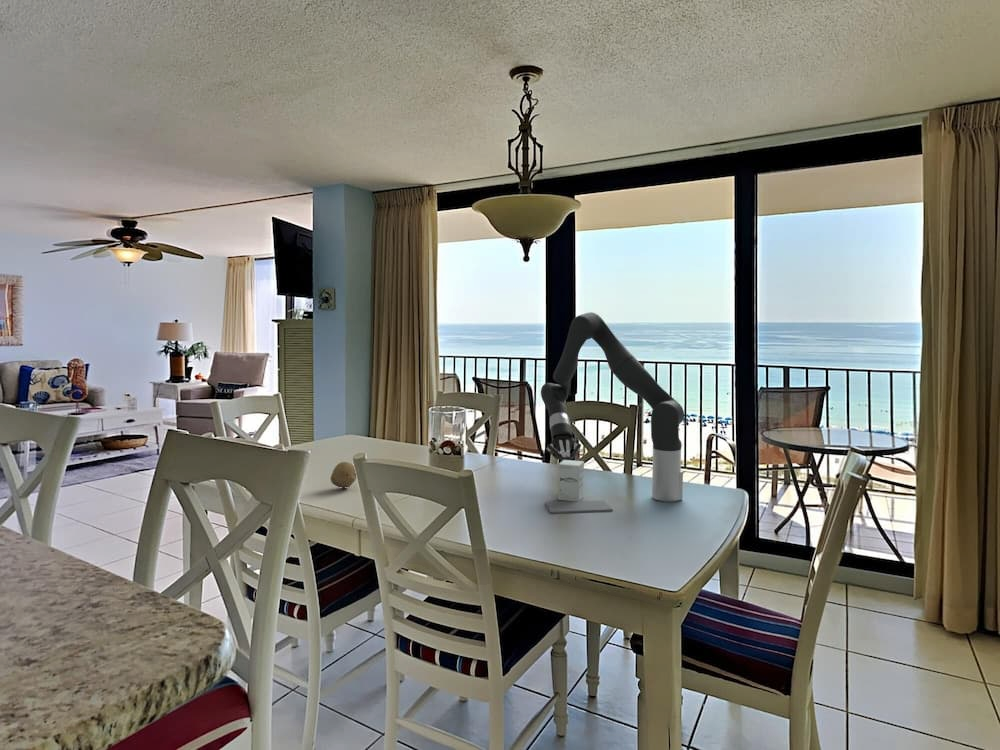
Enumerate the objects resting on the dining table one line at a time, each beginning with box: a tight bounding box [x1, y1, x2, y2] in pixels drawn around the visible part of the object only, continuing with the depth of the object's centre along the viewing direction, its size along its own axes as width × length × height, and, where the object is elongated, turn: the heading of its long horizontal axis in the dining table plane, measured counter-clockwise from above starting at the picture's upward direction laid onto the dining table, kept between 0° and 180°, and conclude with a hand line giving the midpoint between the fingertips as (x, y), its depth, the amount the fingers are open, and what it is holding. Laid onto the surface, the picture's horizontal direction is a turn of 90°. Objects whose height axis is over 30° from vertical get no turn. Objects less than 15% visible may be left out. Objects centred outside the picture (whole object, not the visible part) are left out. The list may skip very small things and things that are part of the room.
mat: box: [544, 499, 614, 515], centre depth 195 cm, size 20×10×1 cm, turn 96°
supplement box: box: [557, 459, 585, 502], centre depth 205 cm, size 7×7×13 cm
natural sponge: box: [330, 461, 357, 488], centre depth 218 cm, size 9×9×10 cm
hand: (567, 468), depth 211 cm, fingers closed
